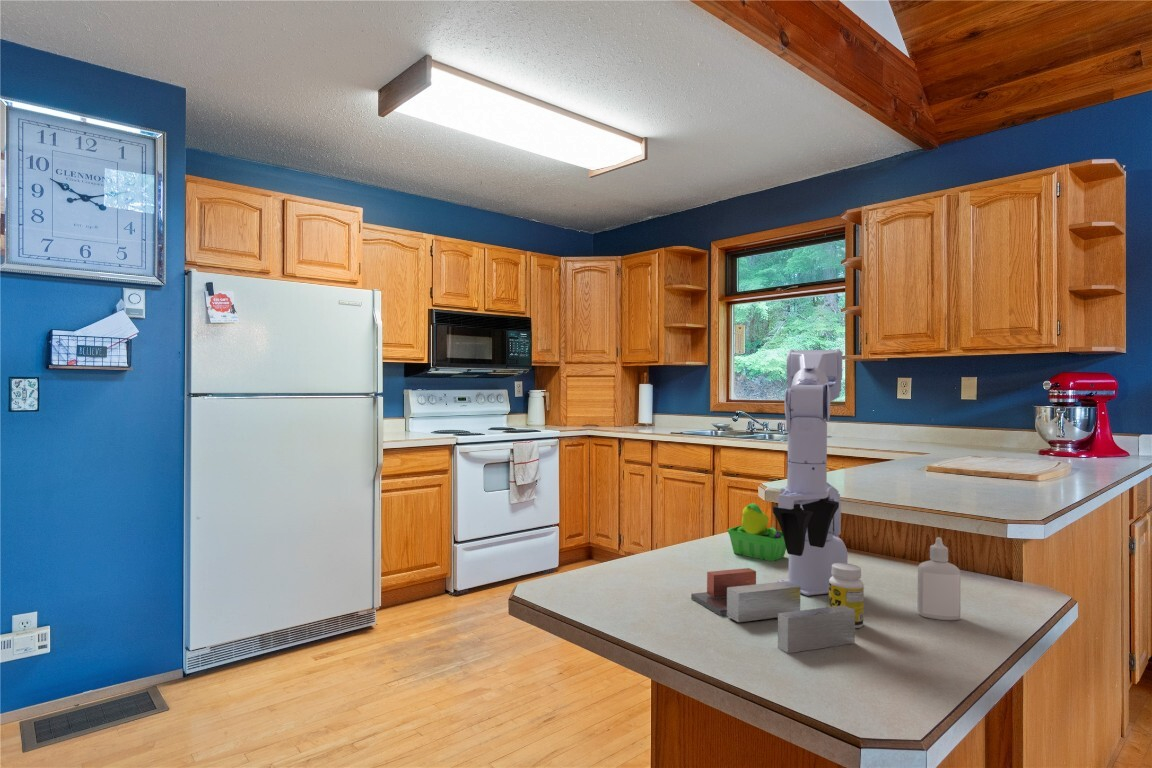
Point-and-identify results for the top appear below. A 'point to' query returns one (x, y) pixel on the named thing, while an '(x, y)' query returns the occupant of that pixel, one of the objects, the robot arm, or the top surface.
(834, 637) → the bar
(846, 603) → the supplement bottle
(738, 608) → the sliding jaw
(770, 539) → the fruit basket
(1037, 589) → the top surface
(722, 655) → the top surface
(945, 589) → the eye dropper bottle
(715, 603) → the base
